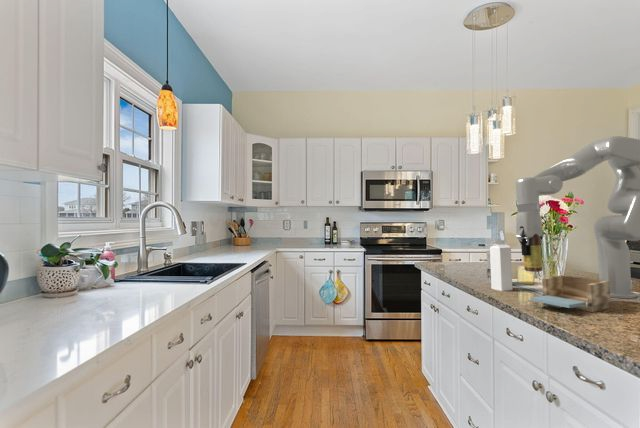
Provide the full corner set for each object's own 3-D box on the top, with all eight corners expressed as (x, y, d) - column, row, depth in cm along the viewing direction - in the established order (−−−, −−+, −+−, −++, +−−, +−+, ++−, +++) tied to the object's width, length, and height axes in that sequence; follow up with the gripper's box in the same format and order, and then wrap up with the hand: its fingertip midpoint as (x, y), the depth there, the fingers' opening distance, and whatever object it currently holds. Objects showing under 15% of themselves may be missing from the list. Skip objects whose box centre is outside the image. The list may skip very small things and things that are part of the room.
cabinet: (562, 298, 131) (561, 275, 131) (610, 307, 117) (609, 281, 117) (542, 302, 126) (541, 278, 126) (591, 312, 112) (590, 285, 112)
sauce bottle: (525, 269, 137) (521, 220, 138) (543, 270, 134) (539, 220, 134) (522, 271, 132) (519, 221, 133) (541, 272, 128) (537, 220, 129)
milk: (512, 290, 149) (511, 240, 149) (501, 291, 147) (500, 240, 147) (501, 287, 154) (500, 239, 155) (490, 288, 153) (489, 240, 153)
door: (547, 300, 124) (547, 295, 124) (585, 307, 113) (585, 302, 113) (530, 302, 120) (530, 297, 120) (568, 310, 109) (568, 304, 109)
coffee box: (498, 285, 159) (497, 251, 159) (487, 283, 165) (485, 250, 165) (512, 283, 162) (510, 250, 163) (500, 281, 168) (498, 249, 169)
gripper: (532, 208, 141) (535, 251, 140) (505, 210, 133) (508, 256, 133) (551, 207, 134) (554, 252, 134) (524, 209, 126) (527, 257, 126)
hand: (531, 253), depth 133 cm, fingers closed on sauce bottle, 6 cm apart
